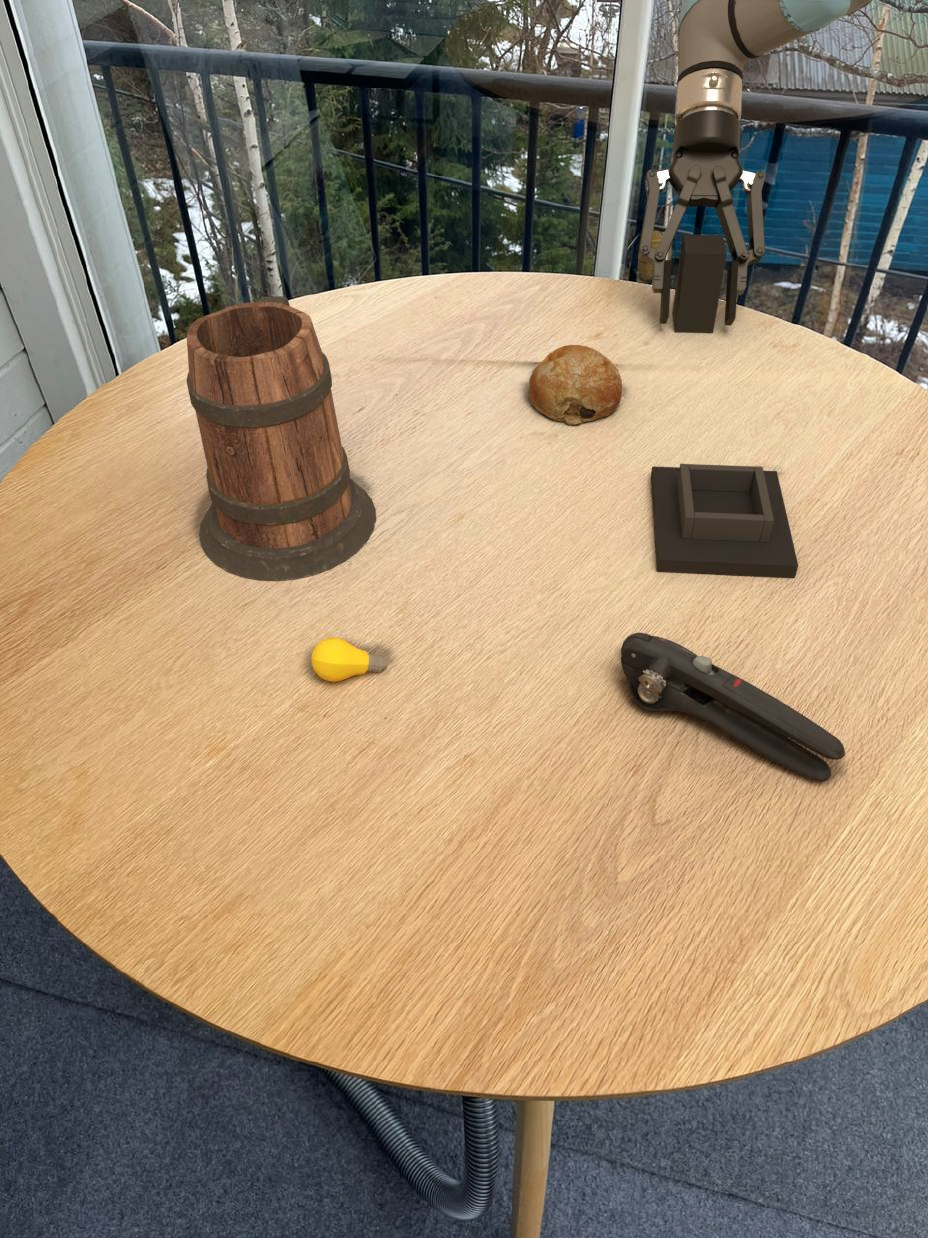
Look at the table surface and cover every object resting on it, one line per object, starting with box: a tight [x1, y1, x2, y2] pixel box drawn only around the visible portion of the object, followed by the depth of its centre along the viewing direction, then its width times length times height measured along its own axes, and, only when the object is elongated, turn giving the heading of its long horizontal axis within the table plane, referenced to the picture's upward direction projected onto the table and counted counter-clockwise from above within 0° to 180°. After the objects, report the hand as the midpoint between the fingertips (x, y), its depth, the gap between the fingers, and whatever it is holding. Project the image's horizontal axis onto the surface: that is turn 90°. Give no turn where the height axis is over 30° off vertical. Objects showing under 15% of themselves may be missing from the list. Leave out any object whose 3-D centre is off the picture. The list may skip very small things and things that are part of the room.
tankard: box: [186, 295, 377, 582], centre depth 85 cm, size 24×17×20 cm
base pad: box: [650, 463, 799, 579], centre depth 86 cm, size 12×14×4 cm
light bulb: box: [310, 636, 388, 682], centre depth 75 cm, size 3×6×4 cm, turn 96°
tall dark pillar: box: [671, 234, 728, 334], centre depth 110 cm, size 4×5×11 cm
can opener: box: [620, 632, 846, 782], centre depth 69 cm, size 18×7×6 cm, turn 50°
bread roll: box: [528, 344, 623, 426], centre depth 102 cm, size 10×10×8 cm
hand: (696, 320), depth 109 cm, fingers open, 7 cm apart
